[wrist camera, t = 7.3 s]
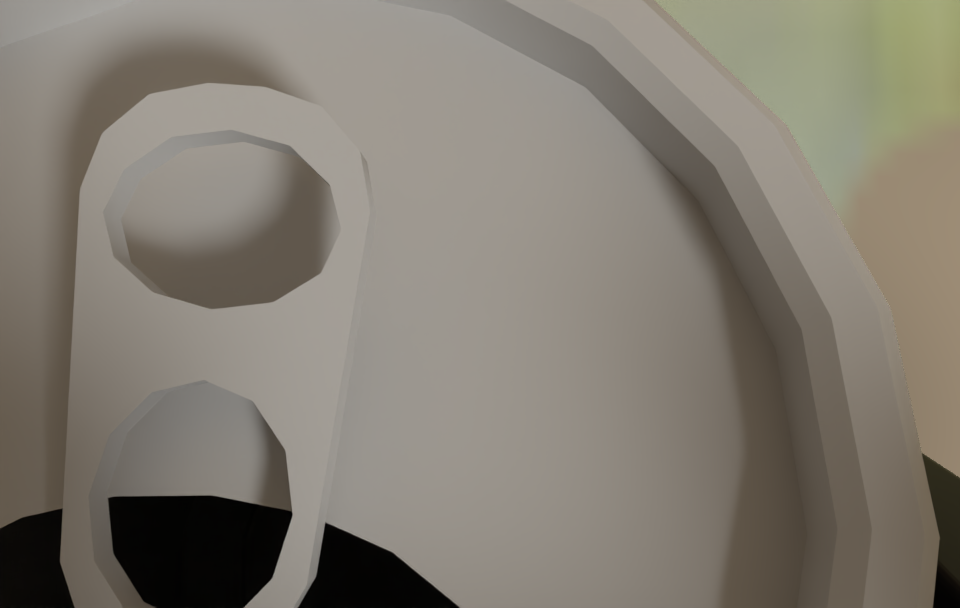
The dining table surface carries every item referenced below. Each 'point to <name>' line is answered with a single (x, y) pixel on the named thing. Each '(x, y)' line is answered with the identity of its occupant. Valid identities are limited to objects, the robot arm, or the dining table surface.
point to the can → (431, 319)
